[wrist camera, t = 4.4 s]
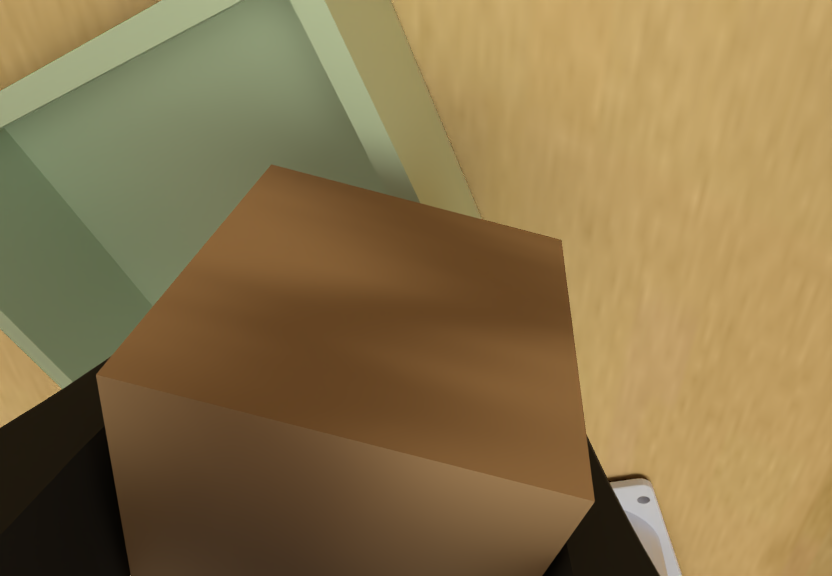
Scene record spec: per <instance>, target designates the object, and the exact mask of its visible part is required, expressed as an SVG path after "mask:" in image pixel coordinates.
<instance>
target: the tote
mask: <svg viewBox="0 0 832 576" xmlns="http://www.w3.org/2000/svg"><path fill="white" fill-rule="evenodd" d="M271 164H272V165H276V166H280V167H284V168H287V169H291V170H295V171H299V172H303V173H306V174H310V175H314V176H318V177H322V178H326V179H329V180H333V181H337V182H341V183H345V184H349V185H352V186H356V187H360V188H364V189H368V190H372V191H375V192H379V193H383V194H387V195H391V196H395V197H398V198H402V199H406V200H410V201H414V202H417V203H421V204H425V205H429V206H433V207H437V208H440V209H444V210H448V211H452V212H456V213H460V214H463V215H467V216H471V217H475V218H479V219H482V218H481V216H480V213H479V211H478V209H477V206H476V204H475V201H474V199H473V197H472V194H471V192H470V189H469V187H468V185H467V182H466V180H465V177H464V175H463V173H462V170H461V168H460V165H459V163H458V161H457V158H456V156H455V153H454V151H453V149H452V146H451V144H450V141H449V139H448V137H447V134H446V132H445V130H444V127H443V125H442V122H441V120H440V118H439V115H438V113H437V110H436V108H435V106H434V103H433V101H432V98H431V96H430V94H429V91H428V89H427V86H426V84H425V82H424V79H423V77H422V74H421V72H420V70H419V67H418V65H417V62H416V60H415V58H414V55H413V53H412V50H411V48H410V46H409V43H408V41H407V38H406V36H405V34H404V31H403V29H402V26H401V24H400V22H399V19H398V17H397V14H396V12H395V10H394V7H393V5H392V2H391V0H162V1H160V2H158V3H156V4H155V5H153V6H151V7H149V8H147V9H146V10H144V11H142V12H140V13H138V14H137V15H135V16H133V17H131V18H130V19H128V20H126V21H124V22H122V23H121V24H119V25H117V26H115V27H113V28H112V29H110V30H108V31H106V32H105V33H103V34H101V35H99V36H97V37H96V38H94V39H92V40H90V41H88V42H87V43H85V44H83V45H81V46H80V47H78V48H76V49H74V50H72V51H71V52H69V53H67V54H65V55H63V56H62V57H60V58H58V59H56V60H55V61H53V62H51V63H49V64H47V65H46V66H44V67H42V68H40V69H39V70H37V71H35V72H33V73H31V74H30V75H28V76H26V77H24V78H22V79H21V80H19V81H17V82H15V83H14V84H12V85H10V86H8V87H6V88H5V89H3V90H1V91H0V329H1V330H2V331H3V332H4V333H5V334H6V335H7V336H8V337H9V338H10V339H11V340H12V341H13V342H14V343H15V344H16V345H17V346H18V347H19V348H20V349H21V350H23V351H24V352H25V353H26V354H27V355H28V356H29V357H30V358H31V359H32V360H33V361H34V362H35V363H36V364H37V365H38V366H39V367H40V368H41V369H42V370H43V371H44V372H45V373H46V374H47V375H48V376H49V377H50V378H51V379H52V380H54V381H55V382H56V383H57V384H58V385H59V386H60V387H61V388H62V389H63V388H65V387H66V386H68V385H69V384H71V383H72V382H74V381H75V380H77V379H78V378H80V377H81V376H82V375H84V374H85V373H87V372H88V371H90V370H91V369H93V368H94V367H96V366H97V365H99V364H100V363H102V362H103V361H105V360H106V359H108V358H109V357H110V356H112V355H113V354H114V352H115V351H116V350H117V349H118V348H119V346H120V345H121V344H122V343H123V342H124V340H125V339H126V338H127V337H128V336H129V334H130V333H131V332H132V331H133V330H134V328H135V327H136V326H137V325H138V324H139V322H140V321H141V320H142V319H143V318H144V316H145V315H146V314H147V313H148V312H149V310H150V309H151V308H152V307H153V306H154V304H155V303H156V302H157V301H158V300H159V298H160V297H161V296H162V295H163V294H164V292H165V291H166V290H167V289H168V288H169V286H170V285H171V284H172V283H173V282H174V280H175V279H176V278H177V277H178V276H179V274H180V273H181V272H182V271H183V270H184V268H185V267H186V266H187V265H188V264H189V262H190V261H191V260H192V259H193V258H194V256H195V255H196V254H197V253H198V252H199V250H200V249H201V248H202V247H203V246H204V244H205V243H206V242H207V241H208V240H209V238H210V237H211V236H212V235H213V234H214V232H215V231H216V230H217V229H218V228H219V226H220V225H221V224H222V223H223V222H224V221H225V219H226V218H227V217H228V216H229V215H230V213H231V212H232V211H233V210H234V209H235V207H236V206H237V205H238V204H239V203H240V201H241V200H242V199H243V198H244V197H245V195H246V194H247V193H248V192H249V191H250V189H251V188H252V187H253V186H254V185H255V183H256V182H257V181H258V180H259V179H260V177H261V176H262V175H263V174H264V173H265V171H266V170H267V169H268V168H269V167H270V165H271Z"/></svg>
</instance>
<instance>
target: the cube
mask: <svg viewBox="0 0 832 576" xmlns="http://www.w3.org/2000/svg"><path fill="white" fill-rule="evenodd" d="M96 378H97V384H98V390H99V396H100V401H101V407H102V413H103V418H104V424H105V430H106V436H107V441H108V447H109V453H110V459H111V464H112V470H113V476H114V482H115V487H116V493H117V499H118V505H119V510H120V516H121V522H122V528H123V533H124V539H125V545H126V551H127V556H128V562H129V568H130V574H131V576H542V575H543V574H544V573H545V571H546V570H547V568H548V567H549V565H550V564H551V563H552V561H553V560H554V558H555V557H556V556H557V554H558V553H559V551H560V550H561V549H562V547H563V546H564V544H565V543H566V542H567V540H568V539H569V537H570V536H571V534H572V533H573V532H574V530H575V529H576V527H577V526H578V525H579V523H580V522H581V520H582V519H583V518H584V516H585V515H586V513H587V512H588V511H589V509H590V508H591V506H592V505H593V503H594V502H595V499H594V491H593V483H592V476H591V468H590V460H589V452H588V444H587V437H586V429H585V421H584V413H583V405H582V398H581V390H580V382H579V374H578V366H577V358H576V351H575V343H574V335H573V327H572V319H571V312H570V304H569V296H568V288H567V280H566V273H565V265H564V257H563V249H562V241H561V240H559V239H555V238H551V237H548V236H544V235H540V234H536V233H532V232H528V231H525V230H521V229H517V228H513V227H509V226H505V225H502V224H498V223H494V222H490V221H486V220H483V219H479V218H475V217H471V216H467V215H463V214H460V213H456V212H452V211H448V210H444V209H440V208H437V207H433V206H429V205H425V204H421V203H417V202H414V201H410V200H406V199H402V198H398V197H395V196H391V195H387V194H383V193H379V192H375V191H372V190H368V189H364V188H360V187H356V186H352V185H349V184H345V183H341V182H337V181H333V180H329V179H326V178H322V177H318V176H314V175H310V174H306V173H303V172H299V171H295V170H291V169H287V168H284V167H280V166H276V165H272V164H271V165H270V167H269V168H268V169H267V170H266V171H265V173H264V174H263V175H262V176H261V177H260V179H259V180H258V181H257V182H256V183H255V185H254V186H253V187H252V188H251V189H250V191H249V192H248V193H247V194H246V195H245V197H244V198H243V199H242V200H241V201H240V203H239V204H238V205H237V206H236V207H235V209H234V210H233V211H232V212H231V213H230V215H229V216H228V217H227V218H226V219H225V221H224V222H223V223H222V224H221V225H220V226H219V228H218V229H217V230H216V231H215V232H214V234H213V235H212V236H211V237H210V238H209V240H208V241H207V242H206V243H205V244H204V246H203V247H202V248H201V249H200V250H199V252H198V253H197V254H196V255H195V256H194V258H193V259H192V260H191V261H190V262H189V264H188V265H187V266H186V267H185V268H184V270H183V271H182V272H181V273H180V274H179V276H178V277H177V278H176V279H175V280H174V282H173V283H172V284H171V285H170V286H169V288H168V289H167V290H166V291H165V292H164V294H163V295H162V296H161V297H160V298H159V300H158V301H157V302H156V303H155V304H154V306H153V307H152V308H151V309H150V310H149V312H148V313H147V314H146V315H145V316H144V318H143V319H142V320H141V321H140V322H139V324H138V325H137V326H136V327H135V328H134V330H133V331H132V332H131V333H130V334H129V336H128V337H127V338H126V339H125V340H124V342H123V343H122V344H121V345H120V346H119V348H118V349H117V350H116V351H115V352H114V354H113V355H112V356H111V357H110V358H109V360H108V361H107V362H106V363H105V364H104V366H103V367H102V368H101V369H100V370H99V372H98V373H97V374H96Z"/></svg>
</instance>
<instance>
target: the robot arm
mask: <svg viewBox="0 0 832 576" xmlns="http://www.w3.org/2000/svg"><path fill="white" fill-rule="evenodd" d="M110 357H111V356H110ZM110 357H109V358H110ZM109 358H108V359H106V360H105V361H103V362H102V363H100V364H99V365H97V366H96V367H94V368H93V369H91V370H90V371H88V372H87V373H85V374H84V375H82V376H81V377H80V378H78V379H77V380H75V381H74V382H72V383H71V384H69V385H68V386H66V387H65V388H63V389H62V390H60V391H59V392H57V393H56V394H54V395H52V396H51V397H49V398H48V399H46V400H45V401H43V402H41V403H40V404H38V405H37V406H35V407H33V408H32V409H30V410H29V411H27V412H25V413H24V414H22V415H20V416H19V417H17V418H16V419H14V420H12V421H11V422H9V423H7V424H6V425H4V426H3V427H1V428H0V576H130V575H131V574H130V568H129V562H128V556H127V551H126V545H125V539H124V533H123V528H122V522H121V516H120V510H119V505H118V499H117V493H116V487H115V482H114V476H113V470H112V464H111V459H110V453H109V447H108V441H107V436H106V430H105V424H104V418H103V413H102V407H101V401H100V396H99V390H98V384H97V378H96V374H97V373H98V372H99V370H100V369H101V368H102V367H103V366H104V364H105V363H106V362H107V361H108V360H109ZM586 437H587V434H586ZM587 444H588V452H589V460H590V468H591V476H592V483H593V491H594V499H595V502H594V503H593V505H592V506H591V508H590V509H589V511H588V512H587V513H586V515H585V516H584V518H583V519H582V520H581V522H580V523H579V525H578V526H577V527H576V529H575V530H574V532H573V533H572V534H571V536H570V537H569V539H568V540H567V542H566V543H565V544H564V546H563V547H562V549H561V550H560V551H559V553H558V554H557V556H556V557H555V558H554V560H553V561H552V563H551V564H550V565H549V567H548V568H547V570H546V571H545V573H544V574H543V575H542V576H682V573H681V570H680V567H679V564H678V561H677V558H676V555H675V552H674V549H673V546H672V543H671V540H670V537H669V534H668V531H667V528H666V525H665V522H664V519H663V516H662V513H661V510H660V507H659V504H658V501H657V498H656V495H655V492H654V489H653V486H652V484H651V482H650V481H648V480H646V479H642V478H637V479H630V480H623V481H616V482H609V481H608V479H607V477H606V475H605V473H604V470H603V468H602V466H601V464H600V462H599V460H598V458H597V456H596V454H595V452H594V450H593V447H592V445H591V443H590V441H589V439H588V437H587Z"/></svg>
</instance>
